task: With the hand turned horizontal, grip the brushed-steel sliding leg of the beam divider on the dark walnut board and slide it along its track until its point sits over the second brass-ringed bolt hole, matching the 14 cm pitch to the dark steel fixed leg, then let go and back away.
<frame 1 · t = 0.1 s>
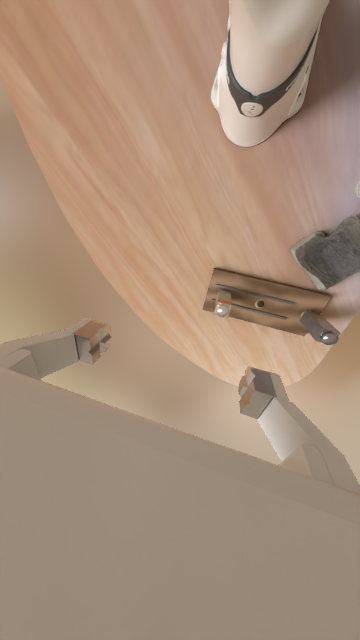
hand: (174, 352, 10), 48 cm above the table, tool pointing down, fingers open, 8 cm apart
fixed leg: (304, 312, 53), resting on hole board
fossil: (331, 252, 45), on the table
sliding leg: (222, 302, 48), point 9 cm above the table, slide at 0.0 cm
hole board: (259, 301, 54), on the table
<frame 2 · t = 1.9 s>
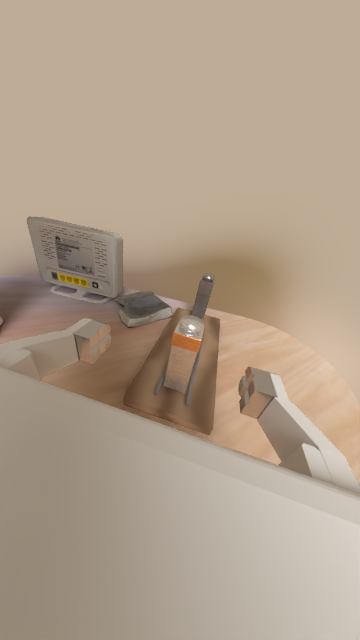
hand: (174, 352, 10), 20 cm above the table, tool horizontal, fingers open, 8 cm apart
fixed leg: (195, 322, 52), resting on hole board
fossil: (141, 312, 53), on the table
sliding leg: (183, 356, 26), point 9 cm above the table, slide at 0.0 cm
network device: (83, 293, 56), on the table
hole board: (187, 350, 40), on the table
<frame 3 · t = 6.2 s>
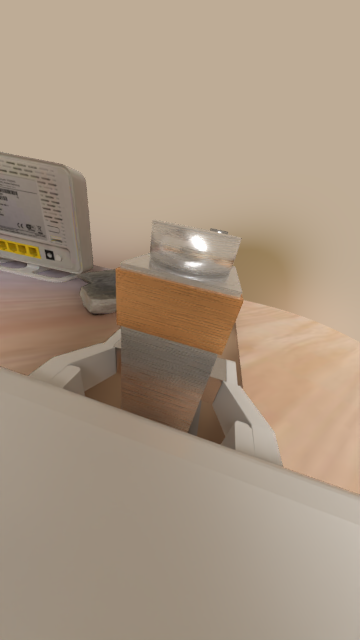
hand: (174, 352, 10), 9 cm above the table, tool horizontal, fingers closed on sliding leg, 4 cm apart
fossil: (119, 296, 36), on the table
sliding leg: (169, 364, 9), point 9 cm above the table, slide at 0.0 cm, touching gripper
network device: (37, 270, 39), on the table
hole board: (184, 350, 24), on the table
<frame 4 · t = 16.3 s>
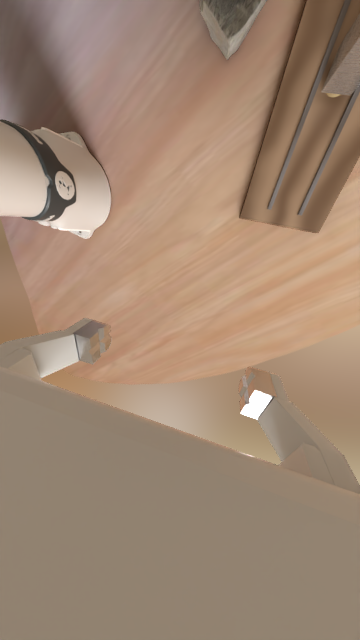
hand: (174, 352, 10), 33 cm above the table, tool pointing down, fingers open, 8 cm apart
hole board: (331, 89, 24), on the table
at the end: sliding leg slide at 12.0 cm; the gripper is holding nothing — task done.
